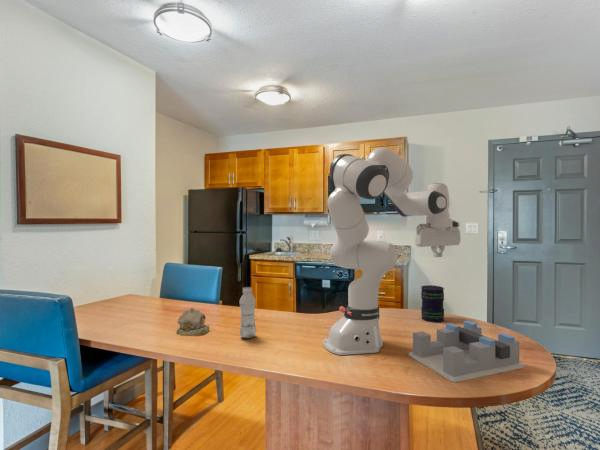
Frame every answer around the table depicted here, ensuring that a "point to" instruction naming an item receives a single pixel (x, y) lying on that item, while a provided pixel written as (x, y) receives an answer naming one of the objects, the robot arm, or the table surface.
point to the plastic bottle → (247, 313)
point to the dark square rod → (471, 337)
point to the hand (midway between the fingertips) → (438, 257)
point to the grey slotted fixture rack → (463, 353)
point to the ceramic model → (192, 323)
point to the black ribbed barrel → (432, 303)
